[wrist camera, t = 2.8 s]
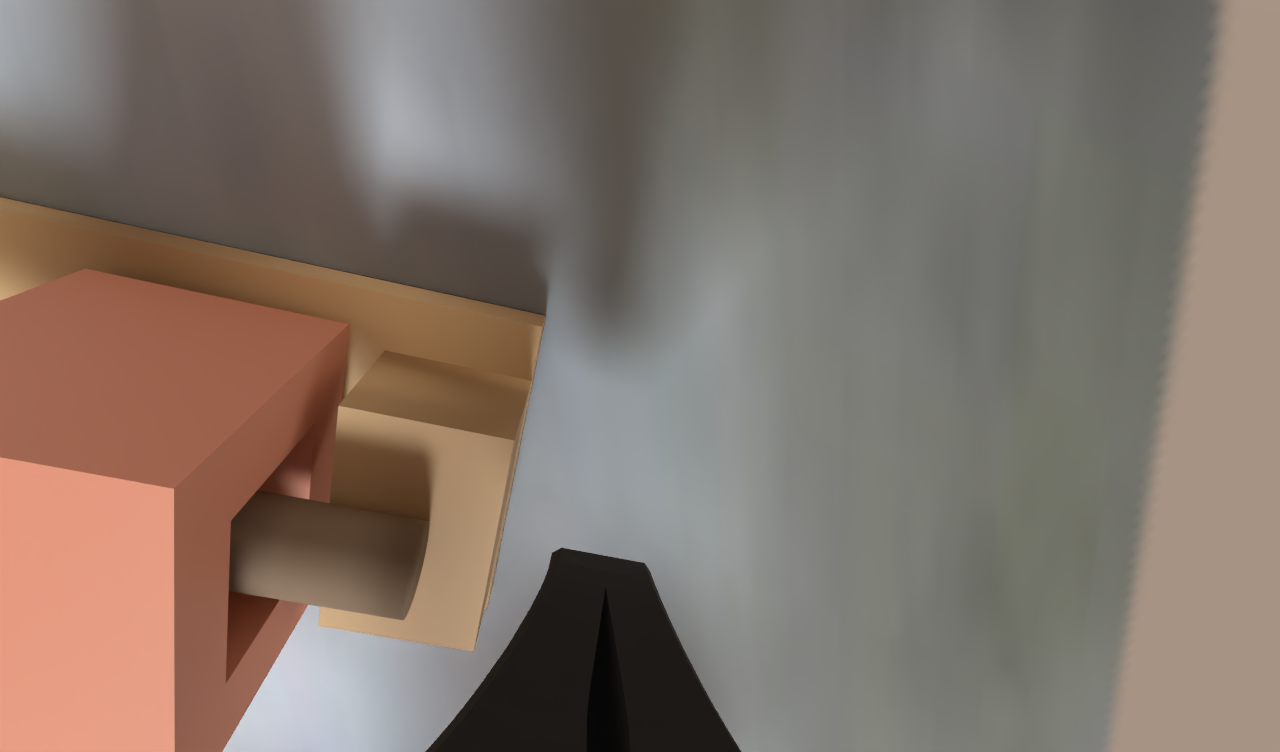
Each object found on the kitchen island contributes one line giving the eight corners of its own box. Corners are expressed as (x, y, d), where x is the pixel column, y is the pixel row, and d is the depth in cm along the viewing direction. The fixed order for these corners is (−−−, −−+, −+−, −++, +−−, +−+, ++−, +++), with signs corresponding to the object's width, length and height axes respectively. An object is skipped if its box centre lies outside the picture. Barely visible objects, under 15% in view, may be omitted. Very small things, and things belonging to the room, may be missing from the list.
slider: (98, 535, 13) (-183, 785, 9) (85, 268, 11) (-282, 406, 7) (325, 574, 14) (174, 832, 9) (348, 324, 12) (174, 488, 7)
